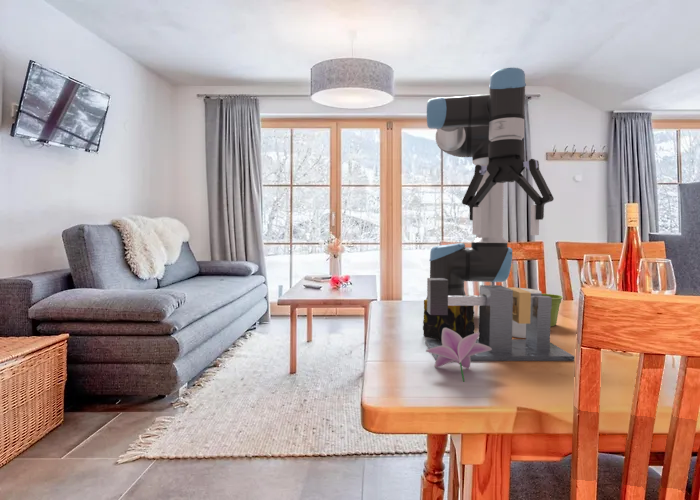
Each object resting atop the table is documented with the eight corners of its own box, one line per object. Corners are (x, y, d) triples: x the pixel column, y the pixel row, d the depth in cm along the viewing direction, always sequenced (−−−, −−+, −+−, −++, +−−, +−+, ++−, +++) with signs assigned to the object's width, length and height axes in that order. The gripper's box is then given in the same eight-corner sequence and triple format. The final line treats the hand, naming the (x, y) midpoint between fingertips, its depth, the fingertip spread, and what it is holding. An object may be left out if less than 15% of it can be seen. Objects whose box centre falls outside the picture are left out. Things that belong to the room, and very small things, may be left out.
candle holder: (544, 339, 109) (545, 293, 108) (504, 338, 111) (505, 292, 110) (535, 330, 119) (536, 288, 118) (499, 329, 121) (499, 287, 120)
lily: (501, 380, 83) (489, 332, 87) (488, 373, 74) (475, 320, 78) (443, 390, 88) (434, 344, 92) (423, 384, 78) (415, 334, 83)
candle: (443, 329, 120) (443, 295, 120) (475, 336, 113) (476, 299, 112) (421, 336, 113) (422, 299, 112) (455, 343, 106) (455, 304, 105)
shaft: (427, 311, 101) (427, 278, 100) (538, 311, 100) (539, 278, 100) (430, 315, 97) (430, 280, 96) (546, 315, 96) (547, 280, 96)
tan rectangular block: (505, 316, 102) (506, 287, 102) (516, 316, 102) (516, 287, 102) (518, 323, 95) (519, 292, 94) (530, 323, 94) (530, 292, 94)
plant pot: (523, 320, 132) (523, 293, 131) (553, 321, 131) (554, 293, 131) (535, 327, 122) (535, 298, 122) (568, 328, 122) (569, 298, 122)
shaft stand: (425, 343, 106) (425, 283, 105) (544, 343, 106) (546, 283, 105) (436, 360, 92) (437, 292, 91) (574, 360, 92) (576, 292, 91)
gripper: (448, 145, 101) (447, 234, 103) (559, 129, 84) (556, 235, 86) (463, 150, 107) (462, 233, 108) (570, 135, 90) (568, 235, 91)
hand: (504, 235), depth 97 cm, fingers open, 13 cm apart
